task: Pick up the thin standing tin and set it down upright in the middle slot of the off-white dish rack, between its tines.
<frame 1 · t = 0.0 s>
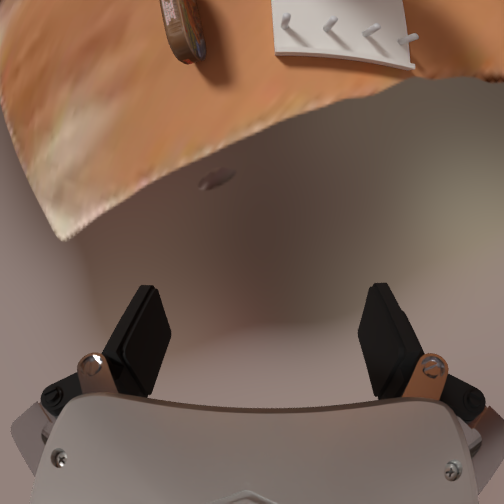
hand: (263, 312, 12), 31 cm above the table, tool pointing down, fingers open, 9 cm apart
tin: (190, 26, 28), on the table
dish rack: (340, 6, 25), on the table
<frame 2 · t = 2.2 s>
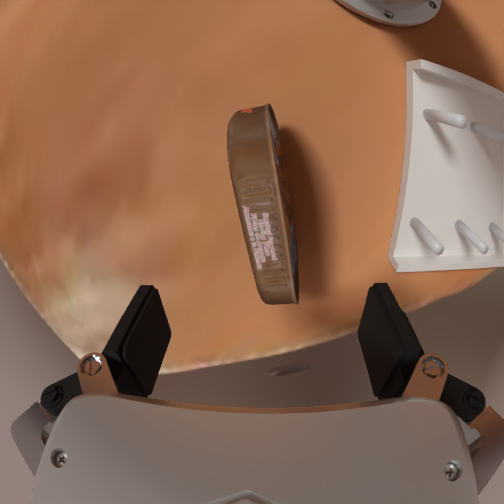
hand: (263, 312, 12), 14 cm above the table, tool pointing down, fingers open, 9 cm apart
tin: (270, 192, 23), on the table
dish rack: (479, 176, 19), on the table
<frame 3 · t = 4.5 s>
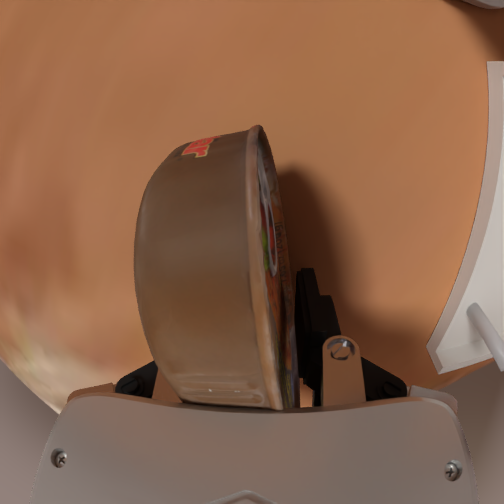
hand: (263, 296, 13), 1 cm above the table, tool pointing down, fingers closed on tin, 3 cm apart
tin: (259, 278, 14), on the table, touching gripper
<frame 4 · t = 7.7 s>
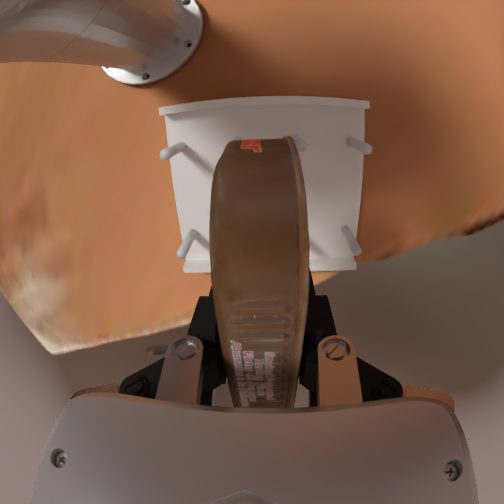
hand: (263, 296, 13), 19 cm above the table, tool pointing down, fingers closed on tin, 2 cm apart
tin: (255, 261, 16), point 15 cm above the table, touching gripper
dish rack: (267, 184, 29), on the table
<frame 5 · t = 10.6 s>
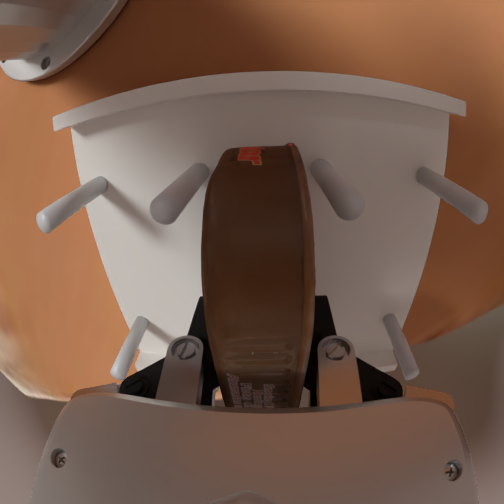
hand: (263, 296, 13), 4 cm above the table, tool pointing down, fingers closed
tin: (256, 271, 15), point 1 cm above the table, touching dish rack, gripper
dish rack: (263, 249, 16), on the table
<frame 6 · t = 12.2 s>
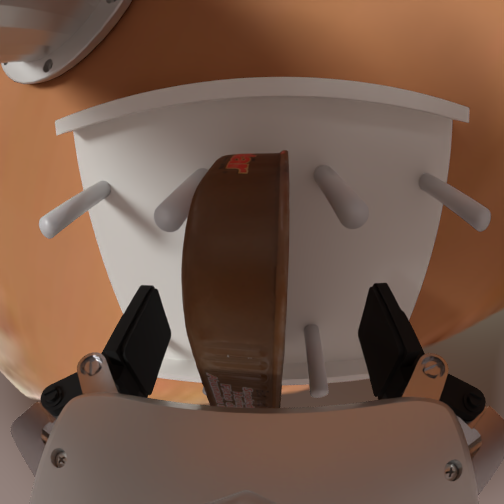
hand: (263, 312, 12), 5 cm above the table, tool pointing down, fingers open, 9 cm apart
tin: (259, 275, 16), point 1 cm above the table, touching dish rack
dish rack: (266, 254, 16), on the table
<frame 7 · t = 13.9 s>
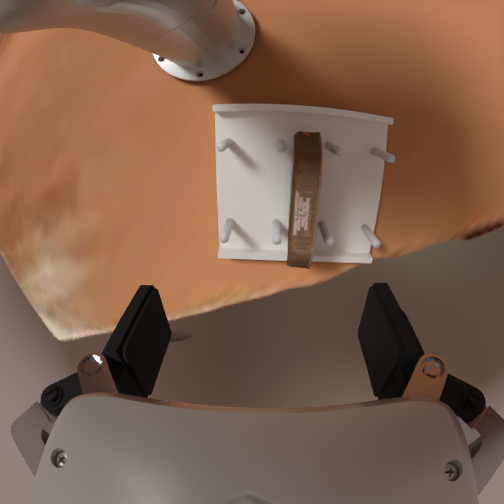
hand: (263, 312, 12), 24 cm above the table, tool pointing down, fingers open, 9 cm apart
tin: (298, 190, 32), point 1 cm above the table, touching dish rack
dish rack: (301, 182, 33), on the table
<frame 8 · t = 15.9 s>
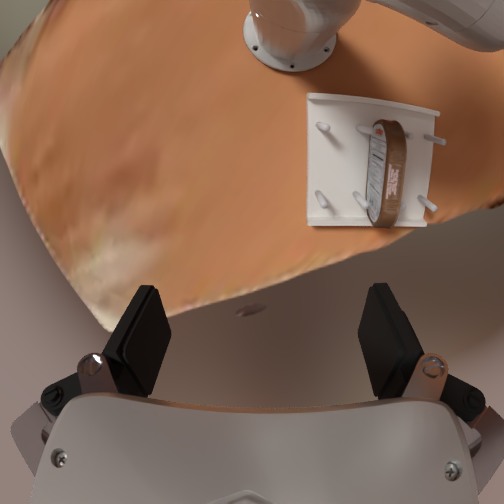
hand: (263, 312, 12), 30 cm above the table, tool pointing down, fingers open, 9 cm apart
tin: (372, 167, 36), point 1 cm above the table, touching dish rack
dish rack: (373, 161, 36), on the table
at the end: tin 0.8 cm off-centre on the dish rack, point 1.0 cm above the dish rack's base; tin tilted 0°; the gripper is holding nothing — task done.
